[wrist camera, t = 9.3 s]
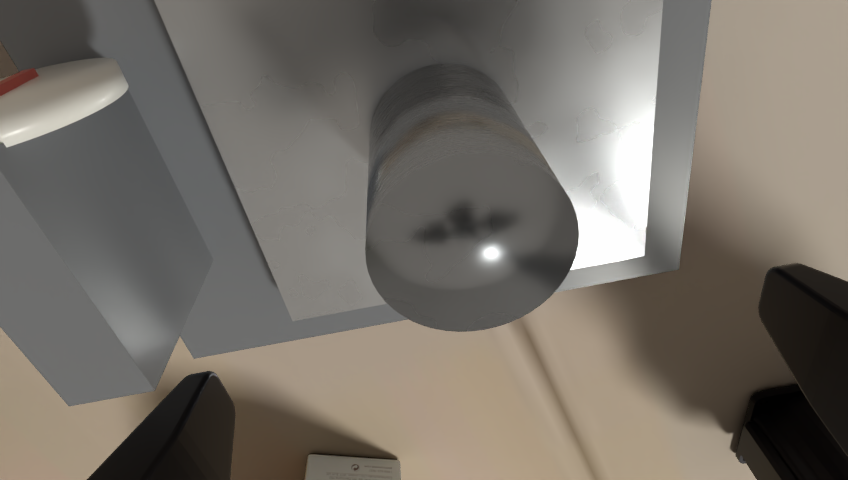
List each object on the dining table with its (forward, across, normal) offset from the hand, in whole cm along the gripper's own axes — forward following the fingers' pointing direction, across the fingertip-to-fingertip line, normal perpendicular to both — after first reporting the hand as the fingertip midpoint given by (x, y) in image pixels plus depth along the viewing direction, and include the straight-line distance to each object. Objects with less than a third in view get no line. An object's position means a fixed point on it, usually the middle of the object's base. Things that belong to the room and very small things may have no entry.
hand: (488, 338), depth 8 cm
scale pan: (+10, 0, 0) cm, 10 cm away
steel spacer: (+9, 0, 0) cm, 9 cm away
